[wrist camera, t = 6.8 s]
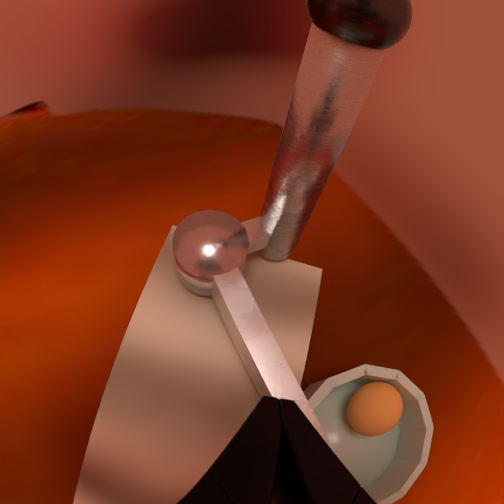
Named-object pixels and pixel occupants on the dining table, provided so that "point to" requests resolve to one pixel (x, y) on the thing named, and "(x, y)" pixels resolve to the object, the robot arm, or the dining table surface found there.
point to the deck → (186, 381)
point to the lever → (291, 180)
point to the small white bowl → (375, 447)
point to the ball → (374, 408)
